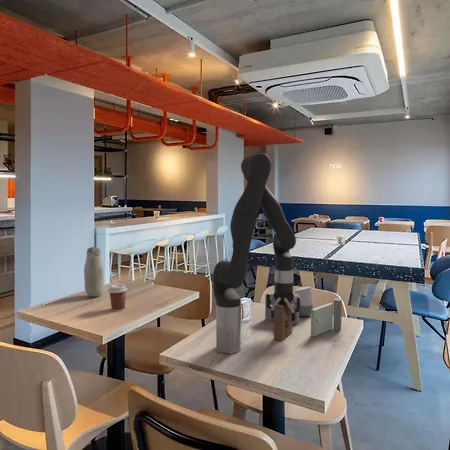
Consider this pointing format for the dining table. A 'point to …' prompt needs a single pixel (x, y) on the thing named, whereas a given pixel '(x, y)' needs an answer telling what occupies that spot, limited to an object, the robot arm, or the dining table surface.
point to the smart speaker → (305, 301)
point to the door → (321, 319)
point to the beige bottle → (94, 272)
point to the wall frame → (268, 312)
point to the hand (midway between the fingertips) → (283, 319)
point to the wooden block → (282, 322)
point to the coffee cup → (117, 297)
